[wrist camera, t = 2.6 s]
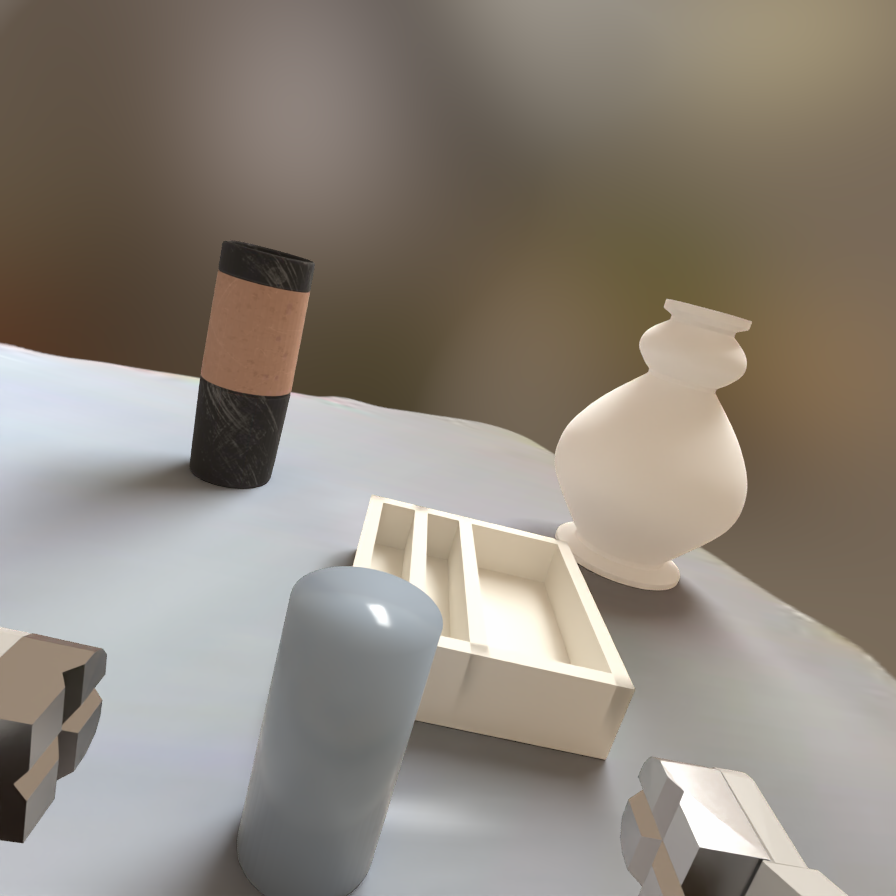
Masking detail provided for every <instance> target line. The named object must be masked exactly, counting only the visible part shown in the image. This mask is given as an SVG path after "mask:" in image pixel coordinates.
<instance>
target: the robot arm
mask: <svg viewBox="0 0 896 896" xmlns="http://www.w3.org/2000/svg"><path fill="white" fill-rule="evenodd" d="M106 659H107V654H106V653H105V651H104V650H103V649H102V648H97V647H93V646H88V645H84V644H79V643H74V642H70V641H65V640H61V639H56V638H52V637H47V636H43V635H38V634H33V633H32V634H29V633H27V632H22V631H17V630H13V629H8V628H3V627H0V840H2V841H10V842H17V843H24V841H25V840H26V838H27V837H28V836H29V834H30V833H31V831H32V830H33V829H34V827H35V826H36V824H37V823H38V822H39V820H40V819H41V817H42V816H43V814H44V813H45V812H46V810H47V809H48V807H49V806H50V805H51V803H52V802H53V800H54V799H55V790H56V781H57V780H58V779H60V778H62V777H64V776H66V775H68V774H70V773H72V772H74V770H75V769H76V767H77V766H78V764H79V763H80V761H81V760H82V758H83V757H84V756H85V754H86V752H87V750H88V748H89V745H90V743H91V741H92V739H93V737H94V735H95V733H96V729H97V726H98V722H99V718H100V714H101V707H102V699H101V697H100V696H99V694H98V693H97V691H96V690H95V687H96V685H97V684H98V683H99V682H100V680H101V679H102V678H103V676H104V675H105V672H106ZM638 778H639V780H640V783H641V786H642V789H643V790H642V791H640V792H639V793H637V794H636V795H634V796H633V797H631V798H630V799H629V800H628V802H627V805H626V808H625V810H624V813H623V816H622V822H621V834H620V839H621V847H622V854H623V857H624V861H625V864H626V867H627V870H628V871H629V872H630V873H631V874H632V876H633V877H634V878H635V879H636V880H637V881H638V882H639V883H640V885H641V886H642V888H641V890H640V893H639V895H638V896H848V895H847V894H845V893H844V892H843V891H842V890H841V889H840V888H838V887H837V886H836V885H835V884H834V883H832V882H831V881H830V880H829V879H828V878H826V877H825V876H824V875H823V874H822V873H820V872H819V871H818V870H813V869H808V868H807V866H806V865H805V863H804V861H803V860H802V858H801V856H800V855H799V853H798V852H797V850H796V848H795V847H794V845H793V843H792V842H791V840H790V839H789V837H788V835H787V834H786V832H785V831H784V829H783V827H782V826H781V824H780V822H779V821H778V819H777V818H776V816H775V814H774V813H773V811H772V810H771V808H770V806H769V805H768V803H767V801H766V800H765V798H764V797H763V795H762V793H761V792H760V790H759V789H758V787H757V785H756V784H755V782H754V780H753V779H752V778H750V777H749V776H748V775H747V774H745V773H744V772H738V771H732V770H726V769H720V768H715V767H713V768H709V767H704V766H699V765H693V764H688V763H683V762H678V761H672V760H667V759H662V758H656V757H650V758H649V759H648V760H647V761H646V762H645V763H644V764H643V766H642V769H641V771H640V773H639V776H638Z"/></svg>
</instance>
